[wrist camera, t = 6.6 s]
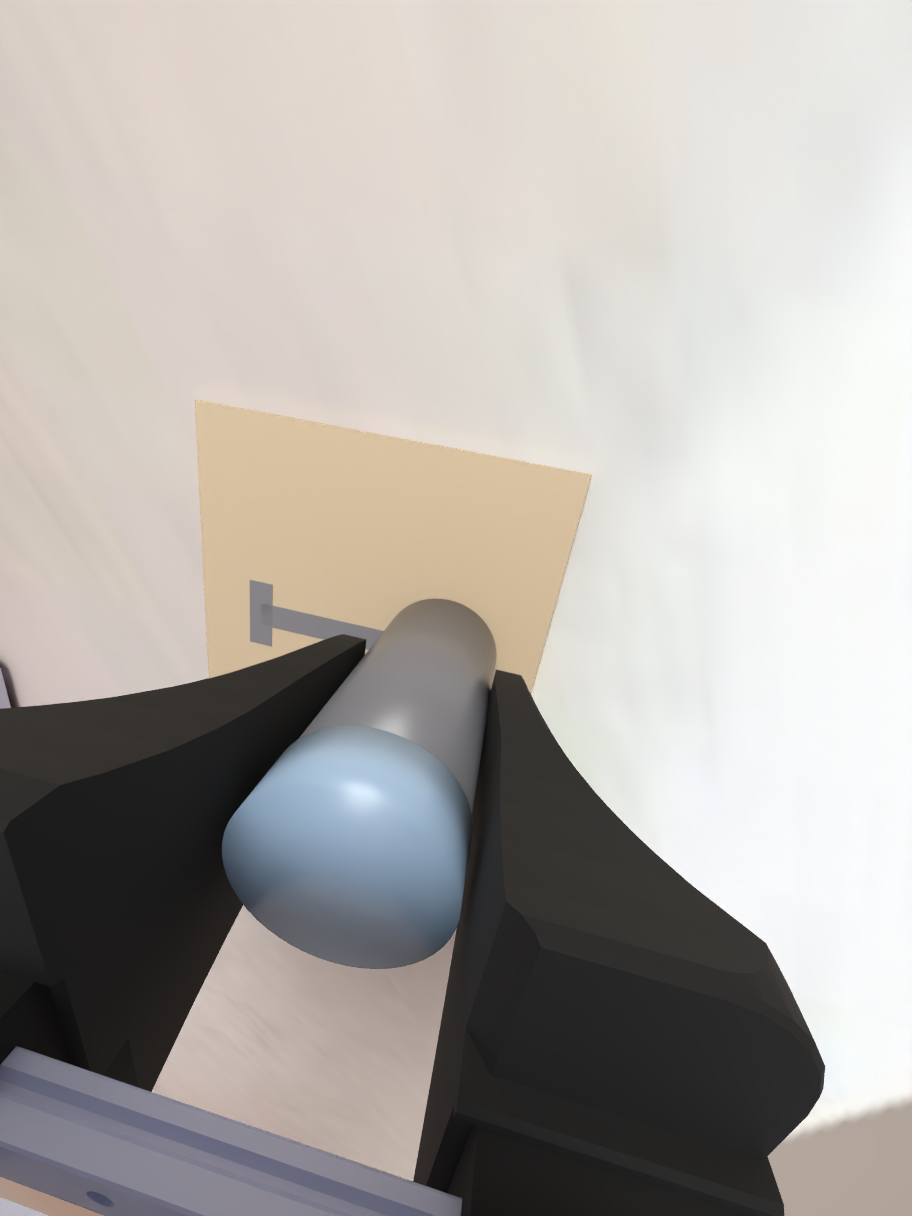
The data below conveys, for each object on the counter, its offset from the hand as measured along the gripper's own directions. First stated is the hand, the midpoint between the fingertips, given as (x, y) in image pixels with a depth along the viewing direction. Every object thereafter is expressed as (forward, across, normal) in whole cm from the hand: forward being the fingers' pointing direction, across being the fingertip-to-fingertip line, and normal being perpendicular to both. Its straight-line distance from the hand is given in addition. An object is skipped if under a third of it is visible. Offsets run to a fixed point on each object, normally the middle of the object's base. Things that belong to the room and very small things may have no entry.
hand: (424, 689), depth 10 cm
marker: (+2, 0, 0) cm, 2 cm away
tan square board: (+2, +2, 0) cm, 3 cm away
